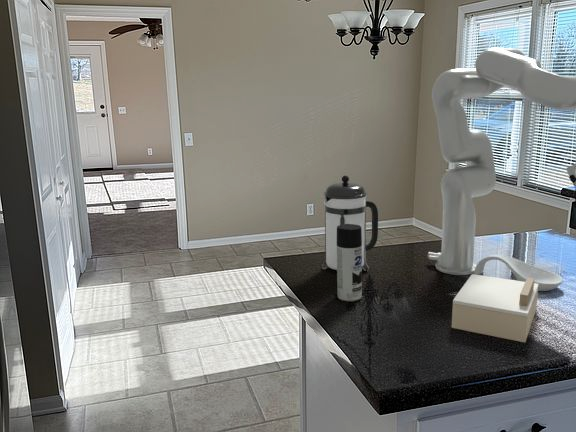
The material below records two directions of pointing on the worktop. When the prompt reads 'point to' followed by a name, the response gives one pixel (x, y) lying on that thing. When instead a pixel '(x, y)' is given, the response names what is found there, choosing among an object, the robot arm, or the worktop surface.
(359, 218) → the coffee press
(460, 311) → the box
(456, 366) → the worktop surface
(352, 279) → the spray can
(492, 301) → the lid
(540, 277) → the spoon rest
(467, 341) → the worktop surface
